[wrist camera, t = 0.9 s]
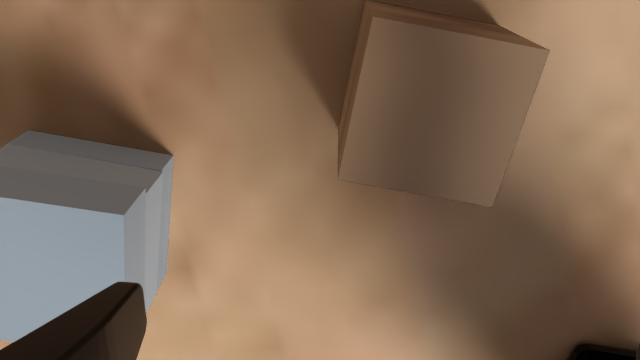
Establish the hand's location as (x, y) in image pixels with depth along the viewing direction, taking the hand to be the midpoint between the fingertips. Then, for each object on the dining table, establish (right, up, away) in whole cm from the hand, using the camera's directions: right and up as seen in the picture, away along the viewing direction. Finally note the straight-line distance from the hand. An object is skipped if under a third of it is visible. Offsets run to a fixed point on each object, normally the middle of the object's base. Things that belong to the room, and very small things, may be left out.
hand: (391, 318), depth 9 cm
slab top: (-11, 0, +10) cm, 15 cm away
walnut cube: (+2, +6, +10) cm, 12 cm away
